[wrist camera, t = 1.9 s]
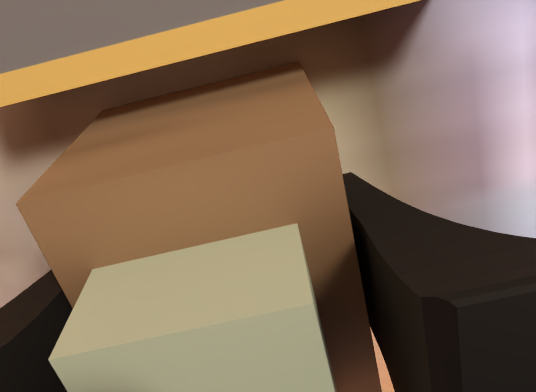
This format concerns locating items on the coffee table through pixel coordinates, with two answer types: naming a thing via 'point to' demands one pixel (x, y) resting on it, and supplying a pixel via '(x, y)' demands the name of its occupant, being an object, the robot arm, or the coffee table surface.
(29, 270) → the coffee table surface
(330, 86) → the coffee table surface
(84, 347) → the block
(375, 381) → the brown block
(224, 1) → the dock
